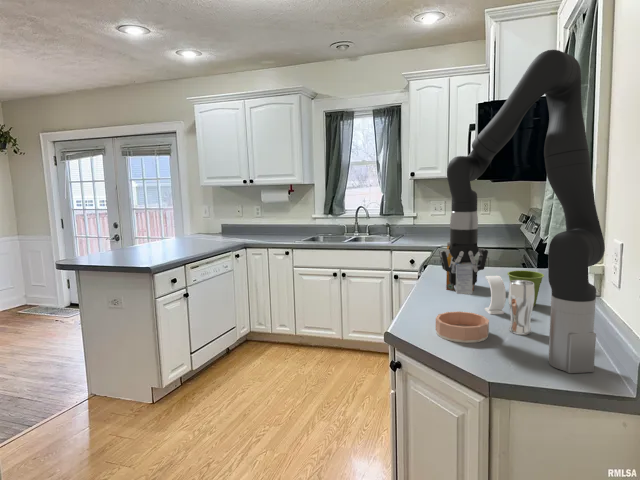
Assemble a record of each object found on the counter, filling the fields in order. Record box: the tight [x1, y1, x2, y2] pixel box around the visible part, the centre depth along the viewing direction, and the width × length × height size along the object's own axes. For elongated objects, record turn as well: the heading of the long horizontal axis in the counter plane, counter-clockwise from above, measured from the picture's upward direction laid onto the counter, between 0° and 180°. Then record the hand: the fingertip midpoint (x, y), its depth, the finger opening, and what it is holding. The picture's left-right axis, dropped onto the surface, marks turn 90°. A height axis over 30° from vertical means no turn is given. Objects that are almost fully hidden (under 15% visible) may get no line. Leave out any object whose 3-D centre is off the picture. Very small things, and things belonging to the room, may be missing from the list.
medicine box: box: [454, 262, 473, 295], centre depth 129 cm, size 8×4×9 cm, turn 169°
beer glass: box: [508, 280, 535, 336], centre depth 131 cm, size 7×7×15 cm
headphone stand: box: [484, 275, 507, 315], centre depth 150 cm, size 5×6×12 cm
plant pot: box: [507, 269, 545, 307], centre depth 158 cm, size 12×12×11 cm
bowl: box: [435, 311, 490, 344], centre depth 131 cm, size 15×15×4 cm
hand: (462, 284), depth 130 cm, fingers closed on medicine box, 5 cm apart
